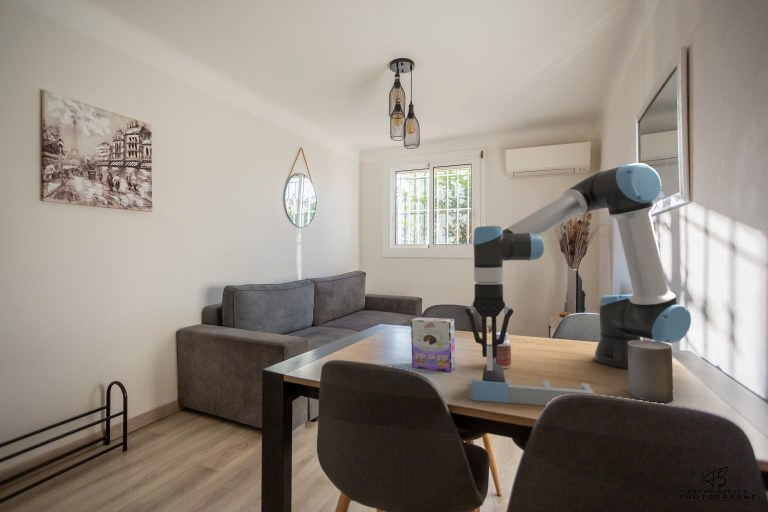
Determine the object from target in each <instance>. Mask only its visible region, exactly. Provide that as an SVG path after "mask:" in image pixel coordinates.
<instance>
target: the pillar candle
mask: <svg viewBox="0 0 768 512" xmlns="http://www.w3.org/2000/svg"><path fill="white" fill-rule="evenodd" d="M672 347H673V346H672V345H671V344H670V343H665V342H658V341H655V340H651V339H647V340H645V339H640V340H632V341H629V342H628V368H627V370H628V375H627V376H628V393H629V394H630V395H632V397H634V396H635V397H634V398H636V397H637V398H636V399H639V400H642V401H646V400H647V401H646V402H651V401H655V403H669V402H673V401H674V382H673V381H674V379H673V371H674V370H673V368H674V367H673V348H672ZM640 398H642V399H640Z"/></svg>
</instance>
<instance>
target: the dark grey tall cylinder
mask: <svg viewBox="0 0 768 512" xmlns="http://www.w3.org/2000/svg"><path fill="white" fill-rule="evenodd" d="M505 378H506V377H505V369H503V368H502V367H501V366H500V365H499V364H496V363H493V371H491V370H487V364H486V365H485V366H484V367H483V370H482V380H481V381H486V382H499V383H505Z"/></svg>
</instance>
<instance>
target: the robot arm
mask: <svg viewBox="0 0 768 512" xmlns="http://www.w3.org/2000/svg"><path fill="white" fill-rule="evenodd" d="M661 190H662V180H661V178H660V176H659V173H658V172H657V171H656V170H655V169H654V168H653V166H649V165H648V164H647V163H641V162H635V163H628V164H624V165H622V166H618V167H615V168H611V169H607V170H604V171H600V172H597V173H596V172H595V173H593V174H592V175H590V176H588V177H586V178H585V179H583V180H581V181H580V182H578V183H576V184H575V185H573V186H572V187H569V188H568V189H566V190H565V191H564V192H563V194H562V196H561V197H559V198H557V199H555V200H553V201H551V202H550V203H548V204H546V205H545V206H543V207H541V208H539V209H538V210H536V211H534V212H532V213H530V214H529V215H528V216H527V215H526V217H524V218H521V219H520V220H519V221H517V222H515V223H513V224H511V225H510V226H508V227H507V228H505V229H503V228H502V226H499V225H484V226H482V225H481V226H476V227H475V228H474V231H473V232H474V233H473V242H472V244H473V257H474V258H473V264H474V265H473V266H474V267H473V276H474V277H473V279H474V282H476V283H475V284H474V285H473V286H474V288H473V289H474V300H473V302H472V305H469V306H467V307H466V308H465V310H464V311H465V313H466V314H467V316H468V318H469V323H470V326H471V330H472V333H473V338H474V341H475V343H477V344H479V345H481V348H482V351H481V353H482V358H486V365H487V370H491V371H493V359H492V357H493V358H496V357H497V345H499V344H503V343H504V339H505V335H506V333H507V330H508V325H509V323H510V322H509V321H510V318H511V317H512V315H513V314H514V309H513V308H512V307H508V305H506V303H505V301H504V285H503V283H502V282H503V279H504V278H503V276H504V274H503V273H504V270H503V268H504V266H503V264H504V263H503V262H504V261H505V262H506V261H535V260H539V259H540V258H542V256H543V254H544V252H545V242H544V241H545V240H544V239H543V237H542V236H544V235H545V234H546V233H548V232H550V231H552V230H553V229H555V228H557V227H558V226H560V225H562V224H564V223H566V222H567V221H569V220H570V219H572V218H574V217H576V216H577V217H580V216H581V217H582V216H584V215H585V214H587V213H589V212H593V211H597V210H601V209H608V213H609V216H611V218H614V219H615V220H616V222H617V226H618V231H619V235H620V240H621V244H622V248H623V252H624V257H625V262H626V265H627V270H628V275H629V278H630V279H629V280H630V283H631V288H632V292H633V293H632V294H631V293H630V294H609V295H602V296H601V297H600V300H599V306H598V308H599V329H600V330H599V331H600V335H599V340H598V343H597V346H596V348H595V352H594V360H595V361H596V362H597V363H600V364H602V365H606V366H610V367H615V368H622V369H628V342H629V341H632V340H641V338H643V339H644V338H645V339H647V340H649V339H650V341H658V342H663V343H667V344H674V343H677V342H680V341H681V340H682V339H684V338H685V336H686V335H687V333H688V331H689V330H690V327H691V325H692V317H691V313H690V311H689V309H688V308H686V307H685V306H683V305H682V304H678V302H677V297H676V293H674V292H672V291H670V290H669V289H668V286H667V281H666V276H665V272H664V268H663V264H662V263H663V262H662V259H661V254H660V250H659V246H658V241H657V238H656V237H657V236H656V233H655V228H654V223H653V220H652V215H651V213H652V210H653V209H654V208H655V207H656V202H655V200H657V198H658V197H659V196H660V194H661V192H660V191H661ZM475 310H476V311H477V313H478V314H479V316H481V337H480V333H479V329H478V325H477V322H476V318H475V314H474V313H475ZM502 311H503V314H504V317H503V321H502V325H501V330H500V332H501V333H500V337H499V339H497V333H496V332H497V317H498V316H499V315H500V314H501V312H502ZM488 317H489V318H491V343H488V339H487V337H488V336H487V335H488V331H487V330H488V329H487V328H488V326H487V324H488V323H487V322H488V321H487V320H488V319H487V318H488Z"/></svg>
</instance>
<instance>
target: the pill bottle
mask: <svg viewBox="0 0 768 512" xmlns="http://www.w3.org/2000/svg"><path fill="white" fill-rule="evenodd" d="M496 333H497V339H499V337H500V333H501V331H496ZM511 345H512V344H511V341H510V339H509V333H508V332H506V335H505V339H504V343H503V344H499V345H497V357H496V358H493V357H492V359H493V363H496V364H499V365H500V366H501V367H502V368H503V370H505V369H509V368H511V367H512V352H511V351H512V350H511V349H512V348H511Z"/></svg>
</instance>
